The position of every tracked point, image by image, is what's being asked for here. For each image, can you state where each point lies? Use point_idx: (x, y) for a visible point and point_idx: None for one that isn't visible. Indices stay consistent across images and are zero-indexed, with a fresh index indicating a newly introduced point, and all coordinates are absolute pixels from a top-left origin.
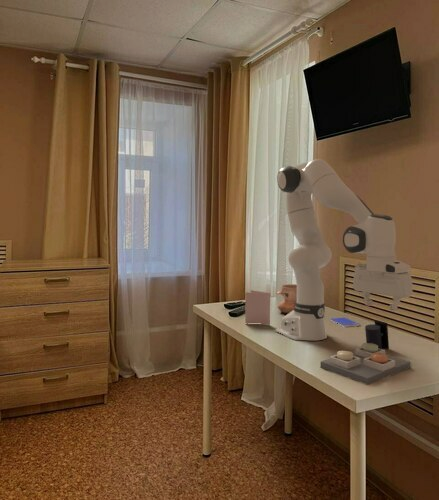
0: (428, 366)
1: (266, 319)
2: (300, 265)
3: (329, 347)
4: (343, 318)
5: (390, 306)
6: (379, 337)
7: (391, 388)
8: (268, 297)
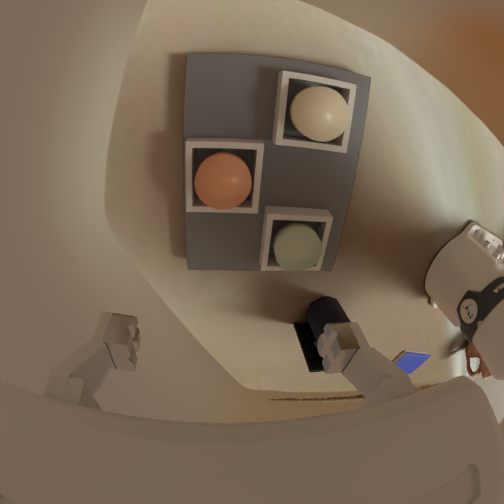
0: (171, 294)
1: None
2: None
3: (406, 237)
4: (412, 370)
5: (125, 332)
6: (315, 329)
7: (133, 90)
8: None
